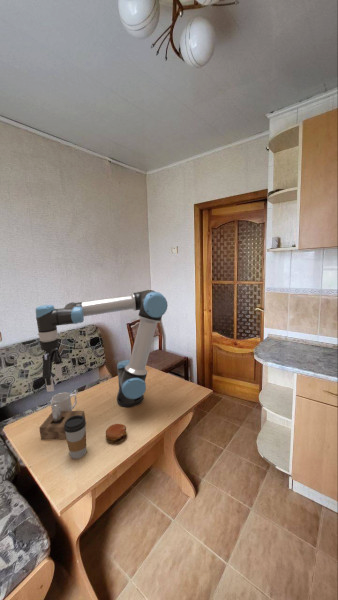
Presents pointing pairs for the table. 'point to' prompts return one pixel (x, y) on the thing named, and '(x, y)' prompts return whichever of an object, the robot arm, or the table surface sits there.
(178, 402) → the table surface
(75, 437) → the coffee cup
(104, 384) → the table surface
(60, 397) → the mug
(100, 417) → the table surface
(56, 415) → the pin
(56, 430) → the socket block
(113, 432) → the burger
